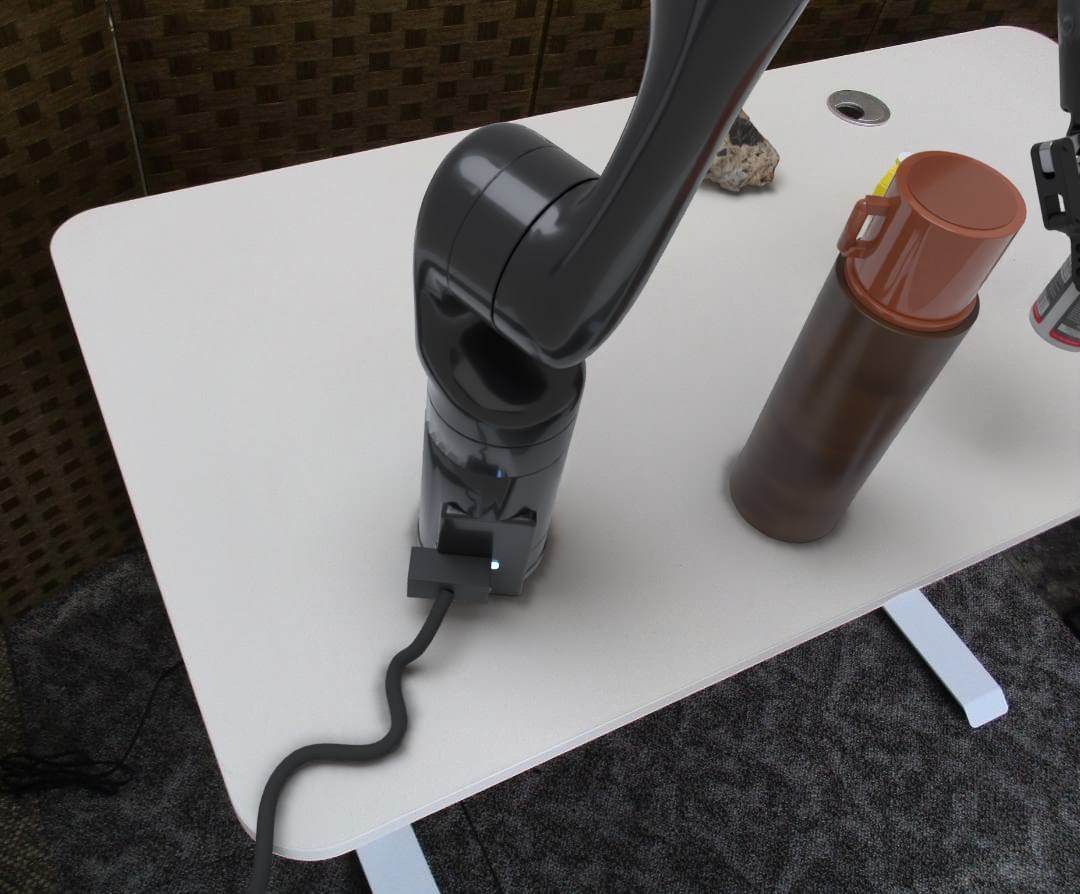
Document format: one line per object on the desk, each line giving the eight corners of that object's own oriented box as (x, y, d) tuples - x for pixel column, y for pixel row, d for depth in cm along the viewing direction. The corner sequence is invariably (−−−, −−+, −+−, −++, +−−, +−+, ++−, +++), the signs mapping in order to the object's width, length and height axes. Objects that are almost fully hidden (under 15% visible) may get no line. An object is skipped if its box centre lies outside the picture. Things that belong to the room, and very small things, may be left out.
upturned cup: (986, 339, 58) (1051, 248, 53) (832, 321, 57) (881, 227, 52) (956, 247, 63) (1012, 154, 57) (813, 229, 62) (856, 134, 57)
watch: (877, 225, 100) (901, 177, 96) (857, 209, 102) (880, 161, 97) (914, 207, 103) (940, 159, 98) (895, 191, 104) (919, 144, 100)
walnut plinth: (848, 548, 76) (996, 346, 58) (734, 537, 76) (847, 329, 57) (831, 454, 82) (961, 242, 63) (725, 443, 81) (825, 225, 63)
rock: (752, 122, 106) (698, 74, 99) (804, 134, 101) (751, 83, 94) (713, 198, 107) (657, 155, 100) (762, 213, 102) (707, 169, 95)
